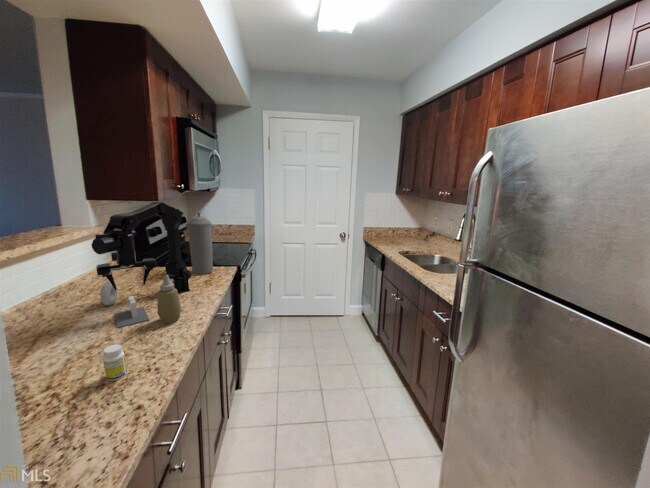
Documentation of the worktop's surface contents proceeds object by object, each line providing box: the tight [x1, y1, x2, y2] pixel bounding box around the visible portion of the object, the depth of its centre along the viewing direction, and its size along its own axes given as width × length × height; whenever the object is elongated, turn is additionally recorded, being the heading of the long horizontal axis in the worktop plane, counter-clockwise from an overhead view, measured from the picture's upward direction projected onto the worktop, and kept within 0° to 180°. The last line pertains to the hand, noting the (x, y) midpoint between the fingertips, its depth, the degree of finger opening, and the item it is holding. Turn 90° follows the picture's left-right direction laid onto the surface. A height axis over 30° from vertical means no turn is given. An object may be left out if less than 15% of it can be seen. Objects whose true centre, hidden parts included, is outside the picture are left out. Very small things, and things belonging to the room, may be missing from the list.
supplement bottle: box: [102, 343, 128, 382], centre depth 79 cm, size 5×5×8 cm
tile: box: [127, 295, 138, 318], centre depth 115 cm, size 8×2×6 cm, turn 39°
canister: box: [186, 211, 214, 276], centre depth 166 cm, size 13×13×35 cm
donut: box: [99, 281, 118, 306], centre depth 124 cm, size 10×3×10 cm, turn 14°
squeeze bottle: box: [156, 274, 182, 324], centre depth 110 cm, size 8×8×18 cm
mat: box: [113, 306, 150, 329], centre depth 114 cm, size 10×14×1 cm
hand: (130, 287), depth 113 cm, fingers open, 9 cm apart
